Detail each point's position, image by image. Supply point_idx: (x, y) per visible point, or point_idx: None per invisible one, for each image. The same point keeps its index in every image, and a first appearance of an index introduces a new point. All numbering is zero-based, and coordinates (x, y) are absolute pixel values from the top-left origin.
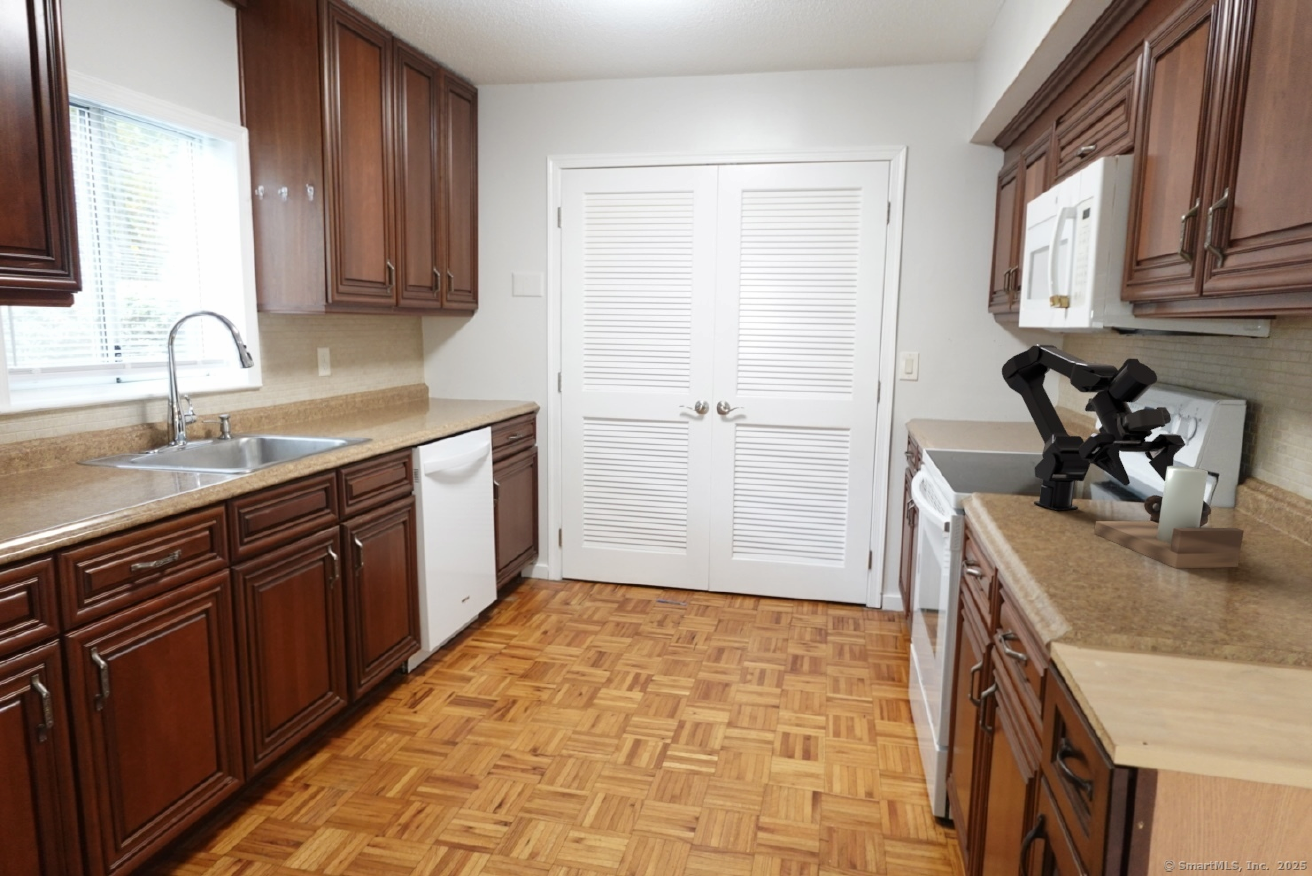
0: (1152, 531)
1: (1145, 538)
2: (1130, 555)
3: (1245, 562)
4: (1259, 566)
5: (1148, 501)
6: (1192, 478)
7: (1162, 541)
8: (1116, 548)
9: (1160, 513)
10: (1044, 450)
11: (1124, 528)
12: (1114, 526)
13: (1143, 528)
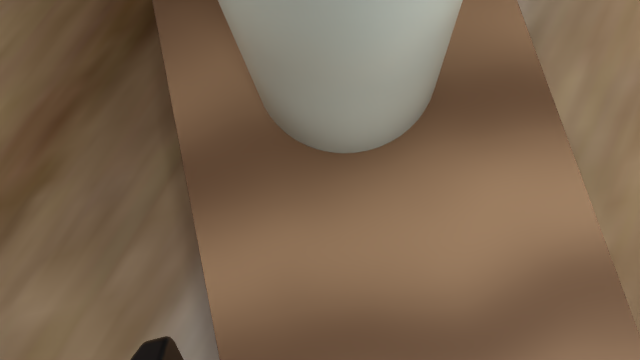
0: (386, 239)
1: (502, 74)
2: (577, 31)
3: (77, 49)
4: (56, 6)
5: None
6: None
7: None
8: (605, 133)
9: (455, 21)
10: None
11: (539, 273)
12: (589, 307)
13: (411, 301)
